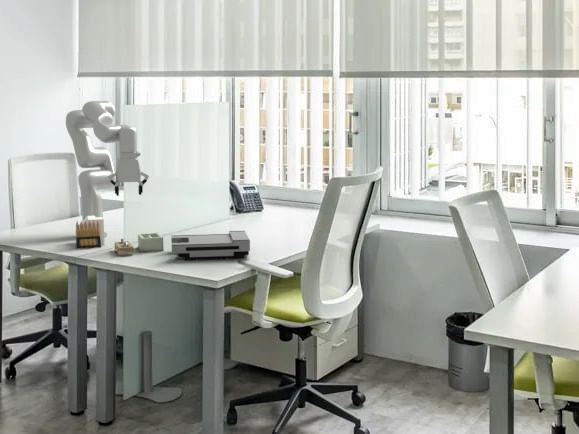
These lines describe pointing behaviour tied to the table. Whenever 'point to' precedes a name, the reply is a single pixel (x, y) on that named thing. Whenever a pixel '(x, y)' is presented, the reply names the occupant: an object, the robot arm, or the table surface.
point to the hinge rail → (124, 246)
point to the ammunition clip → (87, 235)
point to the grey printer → (211, 246)
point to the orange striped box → (101, 225)
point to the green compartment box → (150, 242)
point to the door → (124, 248)
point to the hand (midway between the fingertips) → (128, 194)
